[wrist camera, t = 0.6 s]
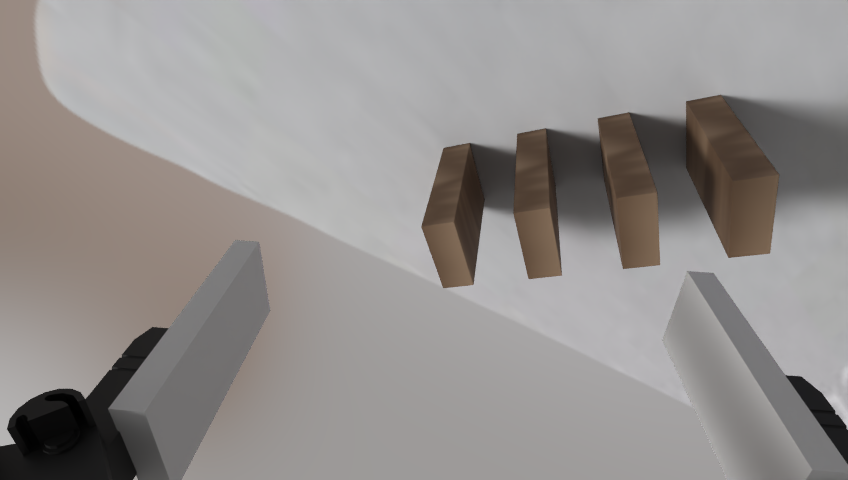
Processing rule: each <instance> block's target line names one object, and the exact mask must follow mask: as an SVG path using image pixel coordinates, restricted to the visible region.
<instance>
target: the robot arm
mask: <svg viewBox="0 0 848 480" xmlns="http://www.w3.org/2000/svg"><path fill="white" fill-rule="evenodd" d="M269 312H270V307H269V300H268V294H267V288H266V282H265V276H264V269H263V263H262V257H261V251H260V244H259V242H254V241H240V240H235V241H234V242H233V244H232V245H231V247H230V248H229V249H228V250H227V252H226V253H225V254H224V256H223V257H222V259H221V260H220V261H219V263H218V264H217V265H216V266H215V268H214V269H213V271H212V272H211V273H210V274H209V276H208V277H207V278H206V280H205V281H204V282H203V284H202V285H201V286H200V288H199V289H198V290H197V292H196V293H195V294H194V296H193V297H192V298H191V300H190V301H189V302H188V304H187V305H186V306H185V308H184V309H183V310H182V312H181V313H180V314H179V316H178V317H177V318H176V320H175V321H174V322H173V323H172V325H171V326H170V327H169V328H157V327H152V328H151V329H149V330H148V331H146V332H145V333H143V334H142V335H140V336H139V337H138V338H136V339H135V340H134V341H133V342H132V343H131V345H130V346H129V347H128V348H127V349H126V351H125V352H124V353H123V354H122V358H119V359H118V360H117V362H116V363H115V364H114V365H113V366H112V370H109V371H108V373H107V374H106V375H105V376H104V377H103V379H102V380H101V381H100V382H99V384H98V385H97V386H96V387H95V388H94V390H93V391H92V392H91V393H90V395H89V396H88V397H87V398H86V399H85V398H84V397H83V396H82V394H81V392H78V391H76V390H73V389H57V390H53V391H49V392H45V393H43V394H41V395H38V396H36V397H34V398H32V399H30V400H29V401H28V402H26V403H25V404H24V405H22V406H21V407H20V408H18V409H17V411H16V412H15V413H14V414H13V416H12V417H11V418H10V420H9V424H8V428H7V430H8V431H9V433H10V434H11V436H12V438H13V440H14V442H15V443H16V444H11V445H6V446H0V480H133V479H134V477H135V476H137V478H138V480H182V478H183V476H184V474H185V472H186V470H187V468H188V466H189V464H190V463H191V460H192V459H193V457H194V455H195V453H196V451H197V449H198V447H199V445H200V443H201V442H202V440H203V438H204V436H205V434H206V432H207V430H208V428H209V426H210V424H211V422H212V421H213V419H214V417H215V415H216V413H217V411H218V409H219V407H220V405H221V403H222V401H223V400H224V398H225V396H226V394H227V391H228V390H229V388H230V386H231V384H232V382H233V380H234V378H235V377H236V375H237V373H238V371H239V369H240V367H241V365H242V363H243V361H244V359H245V358H246V356H247V354H248V352H249V350H250V348H251V346H252V344H253V342H254V340H255V339H256V336H257V335H258V333H259V331H260V329H261V327H262V325H263V323H264V321H265V319H266V317H267V316H268V314H269ZM662 341H663V343H664V345H665V347H666V349H667V351H668V354H669V356H670V358H671V360H672V362H673V364H674V366H675V369H676V371H677V373H678V375H679V377H680V379H681V382H682V384H683V386H684V388H685V390H686V392H687V395H688V397H689V399H690V401H691V403H692V405H693V407H694V410H695V412H696V414H697V416H698V418H699V420H700V423H701V425H702V427H703V429H704V431H705V433H706V435H707V438H708V440H709V442H710V444H711V446H712V448H713V451H714V453H715V455H716V457H717V459H718V461H719V464H720V466H721V468H722V470H723V472H724V474H725V476H726V479H727V480H848V430H847V429H846V425H845V423H844V422H843V421H842V419H841V418H840V417H839V415H836V414H835V410H834V409H833V408H832V406H831V405H830V404H829V402H828V401H827V400H826V398H825V397H824V396H823V394H822V393H821V392H820V391H818V390H817V389H816V388H815V387H813V386H812V385H811V384H810V383H809V382H807V381H806V380H805V379H804V378H802V377H800V376H787V375H785V374H784V373H783V371H782V370H781V369H780V367H779V366H778V364H777V363H776V361H775V360H774V359H773V357H772V356H771V354H770V353H769V351H768V350H767V349H766V347H765V346H764V344H763V343H762V342H761V340H760V339H759V337H758V336H757V334H756V333H755V332H754V330H753V329H752V327H751V326H750V324H749V323H748V322H747V320H746V319H745V317H744V316H743V314H742V313H741V312H740V310H739V309H738V307H737V306H736V304H735V303H734V302H733V300H732V299H731V297H730V296H729V294H728V293H727V292H726V290H725V289H724V287H723V286H722V284H721V283H720V282H719V280H718V279H717V277H716V276H715V275H714V273H705V272H691V271H687V274H686V276H685V279H684V282H683V285H682V287H681V290H680V293H679V296H678V298H677V301H676V304H675V307H674V309H673V312H672V315H671V318H670V320H669V323H668V326H667V329H666V331H665V334H664V337H663V340H662Z"/></svg>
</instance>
